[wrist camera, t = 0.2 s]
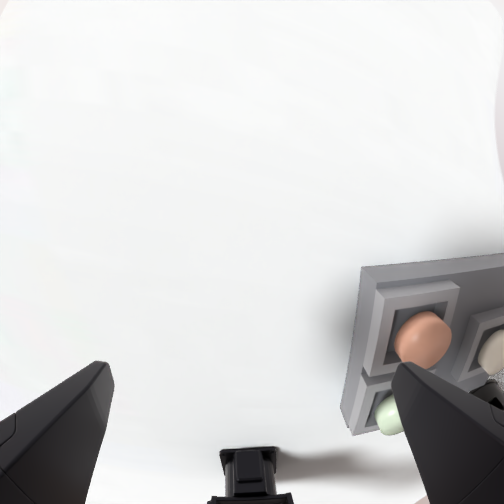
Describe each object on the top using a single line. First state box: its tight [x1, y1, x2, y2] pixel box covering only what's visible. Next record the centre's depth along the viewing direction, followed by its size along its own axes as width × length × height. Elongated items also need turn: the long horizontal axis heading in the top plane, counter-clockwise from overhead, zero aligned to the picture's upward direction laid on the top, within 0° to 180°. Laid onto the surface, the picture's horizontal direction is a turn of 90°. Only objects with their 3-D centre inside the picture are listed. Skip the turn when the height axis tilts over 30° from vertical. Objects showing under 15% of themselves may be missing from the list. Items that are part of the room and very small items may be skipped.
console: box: [340, 253, 504, 436], centre depth 24 cm, size 16×19×4 cm
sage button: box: [374, 394, 404, 435], centre depth 22 cm, size 4×4×2 cm
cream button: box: [478, 330, 504, 375], centre depth 21 cm, size 4×4×2 cm
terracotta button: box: [394, 311, 452, 369], centre depth 19 cm, size 4×4×2 cm
